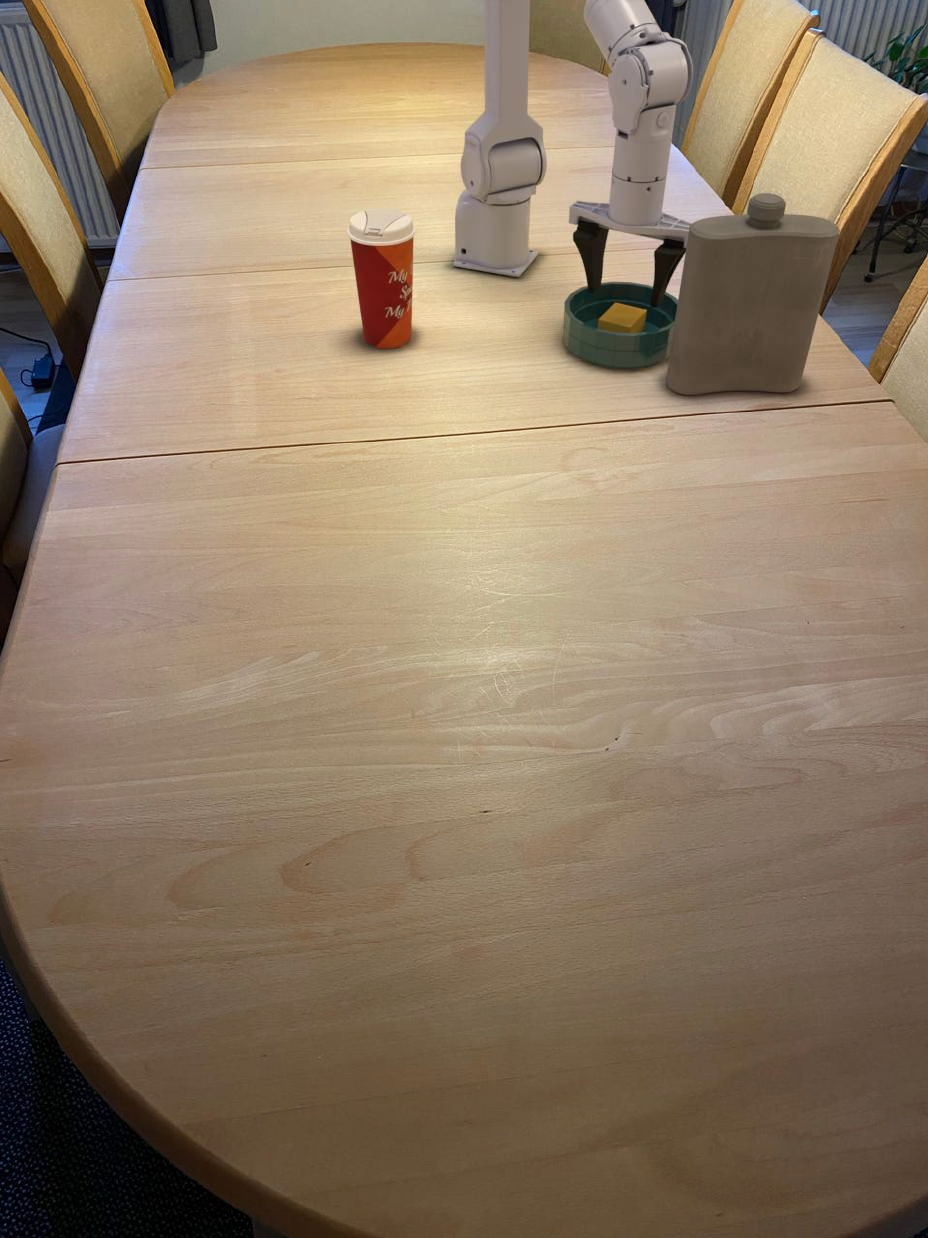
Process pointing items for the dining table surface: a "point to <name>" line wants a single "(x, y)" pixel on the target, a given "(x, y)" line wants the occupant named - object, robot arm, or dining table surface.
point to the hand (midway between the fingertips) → (624, 296)
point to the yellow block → (623, 319)
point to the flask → (749, 299)
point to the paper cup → (384, 274)
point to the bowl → (615, 346)
